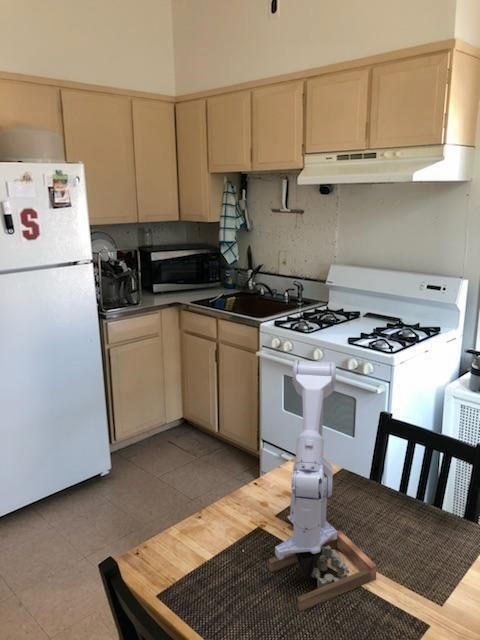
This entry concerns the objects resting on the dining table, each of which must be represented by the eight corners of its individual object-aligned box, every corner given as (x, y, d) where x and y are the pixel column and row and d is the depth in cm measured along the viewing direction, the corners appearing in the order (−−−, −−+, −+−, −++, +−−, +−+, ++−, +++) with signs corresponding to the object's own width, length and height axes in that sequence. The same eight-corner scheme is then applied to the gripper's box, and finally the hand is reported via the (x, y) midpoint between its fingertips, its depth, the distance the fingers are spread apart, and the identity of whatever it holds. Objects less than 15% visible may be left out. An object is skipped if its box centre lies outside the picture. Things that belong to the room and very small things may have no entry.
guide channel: (268, 568, 117) (268, 555, 116) (339, 542, 125) (339, 529, 124) (300, 611, 106) (300, 597, 105) (375, 579, 114) (376, 565, 113)
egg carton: (350, 588, 112) (351, 572, 111) (317, 594, 110) (318, 578, 109) (331, 554, 122) (332, 539, 121) (301, 559, 120) (301, 544, 119)
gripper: (287, 542, 103) (286, 599, 107) (346, 521, 109) (344, 575, 113) (270, 522, 110) (270, 576, 113) (327, 503, 116) (325, 555, 119)
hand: (306, 574), depth 114 cm, fingers closed
